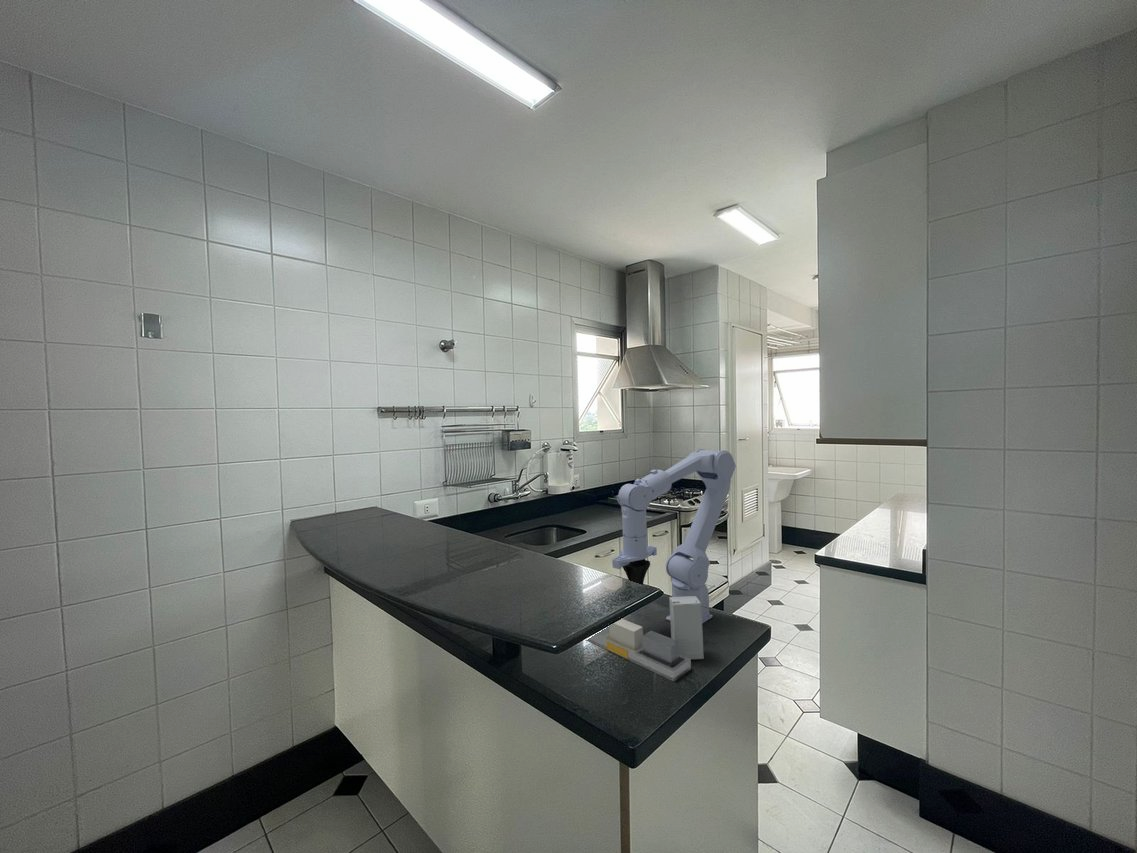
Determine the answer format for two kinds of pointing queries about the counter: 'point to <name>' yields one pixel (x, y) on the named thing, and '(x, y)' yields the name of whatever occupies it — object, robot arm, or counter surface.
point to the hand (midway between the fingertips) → (636, 591)
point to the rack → (649, 653)
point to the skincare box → (687, 625)
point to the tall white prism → (627, 634)
